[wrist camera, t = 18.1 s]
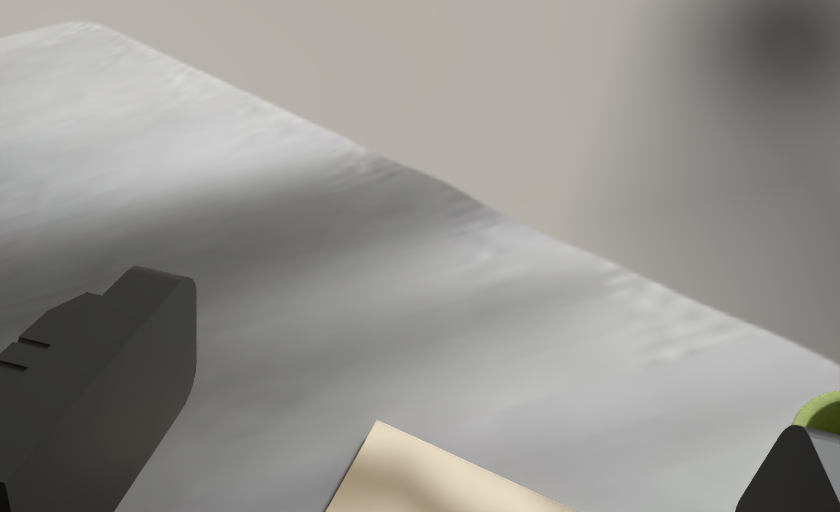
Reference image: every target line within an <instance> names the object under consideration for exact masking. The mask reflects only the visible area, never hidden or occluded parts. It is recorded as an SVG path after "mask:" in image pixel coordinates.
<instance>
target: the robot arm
mask: <svg viewBox="0 0 840 512" xmlns="http://www.w3.org/2000/svg"><path fill="white" fill-rule="evenodd" d="M195 372H196V286H195V283H194V281H193V279H191V278H189V277H184V276H180V275H176V274H172V273H168V272H163V271H159V270H155V269H151V268H147V267H143V266H134V267H132V268H130V269H129V270H128V271H127V272H126V273H125V274H124V275H123V276H122V277H121V278H120V279H119V280H118V281H116V282H115V283H114V284H113V285H112V286H111V287H110V288H109V289H108V290H107V291H106V292H105V293H104V294H103V295H102V296H100V295H96V294H92V293H88V292H87V293H85V294H82V295H80V296H78V297H76V298H74V299H72V300H70V301H68V302H65V303H63V304H61V305H59V306H57V307H55V308H53V309H50V310H48V311H47V312H46V313H45V314H44V315H43V316H41V317H40V318H39V319H38V320H37V321H36V322H35V323H34V324H33V325H31V326H30V327H29V328H28V329H27V330H26V331H25V332H24V333H23V334H21V335H20V336H19V340H18V342H17V343H15V342H13V343H11V344H10V345H9V346H8V347H7V348H6V349H5V350H4V351H3V352H1V353H0V512H114V511H115V509H116V508H117V506H118V505H119V503H120V502H121V500H122V499H123V497H124V496H125V494H126V493H127V491H128V490H129V488H130V487H131V485H132V484H133V482H134V481H135V479H136V478H137V476H138V475H139V473H140V472H141V470H142V469H143V467H144V466H145V464H146V463H147V461H148V460H149V458H150V457H151V455H152V454H153V452H154V451H155V449H156V448H157V446H158V445H159V443H160V442H161V440H162V439H163V437H164V436H165V434H166V433H167V431H168V430H169V428H170V427H171V425H172V424H173V422H174V421H175V419H176V418H177V416H178V415H179V413H180V412H181V410H182V408H183V407H184V405H185V403H186V401H187V399H188V396H189V394H190V391H191V388H192V385H193V381H194V377H195ZM735 512H840V435H837V434H833V433H829V432H825V431H821V430H816V429H812V428H808V427H804V426H800V425H792V426H789V427H788V428H786V429H785V430H784V431H783V432H782V433H781V435H780V436H779V438H778V439H777V441H776V442H775V444H774V446H773V447H772V449H771V450H770V452H769V454H768V455H767V457H766V458H765V460H764V462H763V463H762V465H761V466H760V468H759V470H758V471H757V473H756V474H755V476H754V478H753V479H752V481H751V482H750V484H749V486H748V487H747V489H746V490H745V492H744V494H743V495H742V497H741V498H740V500H739V502H738V505H737V507H736V511H735Z"/></svg>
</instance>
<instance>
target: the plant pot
mask: <svg viewBox="0 0 840 512" xmlns="http://www.w3.org/2000/svg"><path fill="white" fill-rule="evenodd" d="M792 425H800V426H804V427H808V428H812V429H816V430H821V431H825V432H829V433H833V434H837V435H840V391H834V392H829V393H826V394H823V395H821V396H818V397H816V398H814V399H812V400H811V401H809V402H808V403H807V404H806V405H805V406H803V407H802V409H801V410H800V411H799V412H798V414H797V415H796V417H795V419H794V421H793V423H792ZM792 425H791V426H792Z"/></svg>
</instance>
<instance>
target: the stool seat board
mask: <svg viewBox="0 0 840 512" xmlns="http://www.w3.org/2000/svg"><path fill="white" fill-rule="evenodd" d="M326 512H577V511H575V510H573V509H570V508H568V507H566V506H564V505H562V504H559V503H557V502H555V501H553V500H551V499H549V498H546V497H544V496H542V495H540V494H538V493H535V492H533V491H531V490H529V489H527V488H525V487H522V486H520V485H518V484H516V483H514V482H511V481H509V480H507V479H505V478H503V477H501V476H498V475H496V474H494V473H492V472H490V471H488V470H485V469H483V468H481V467H479V466H477V465H474V464H472V463H470V462H468V461H466V460H464V459H461V458H459V457H457V456H455V455H453V454H450V453H448V452H446V451H444V450H442V449H440V448H437V447H435V446H433V445H431V444H429V443H426V442H424V441H422V440H420V439H418V438H416V437H413V436H411V435H409V434H407V433H405V432H402V431H400V430H398V429H396V428H394V427H392V426H389V425H387V424H385V423H383V422H381V421H378V420H377V421H376V423H375V424H374V426H373V428H372V430H371V432H370V433H369V435H368V437H367V439H366V441H365V442H364V444H363V446H362V448H361V449H360V451H359V453H358V455H357V457H356V458H355V460H354V462H353V464H352V466H351V467H350V469H349V471H348V473H347V474H346V476H345V478H344V480H343V482H342V483H341V485H340V487H339V489H338V490H337V492H336V494H335V496H334V498H333V499H332V501H331V503H330V505H329V507H328V508H327V510H326Z"/></svg>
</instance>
